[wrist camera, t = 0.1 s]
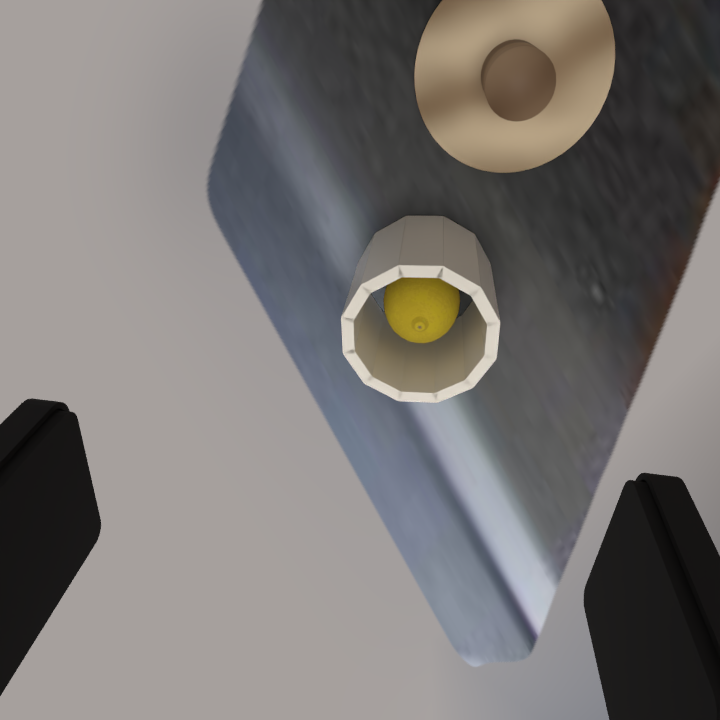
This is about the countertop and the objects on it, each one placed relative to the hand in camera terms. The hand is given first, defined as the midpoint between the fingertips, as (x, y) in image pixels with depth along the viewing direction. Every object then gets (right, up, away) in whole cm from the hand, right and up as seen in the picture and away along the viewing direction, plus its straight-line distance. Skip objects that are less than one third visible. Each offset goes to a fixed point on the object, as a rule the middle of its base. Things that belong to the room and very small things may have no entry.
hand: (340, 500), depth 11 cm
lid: (+10, +21, +30) cm, 38 cm away
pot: (+5, +9, +38) cm, 39 cm away
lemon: (+5, +9, +38) cm, 39 cm away
